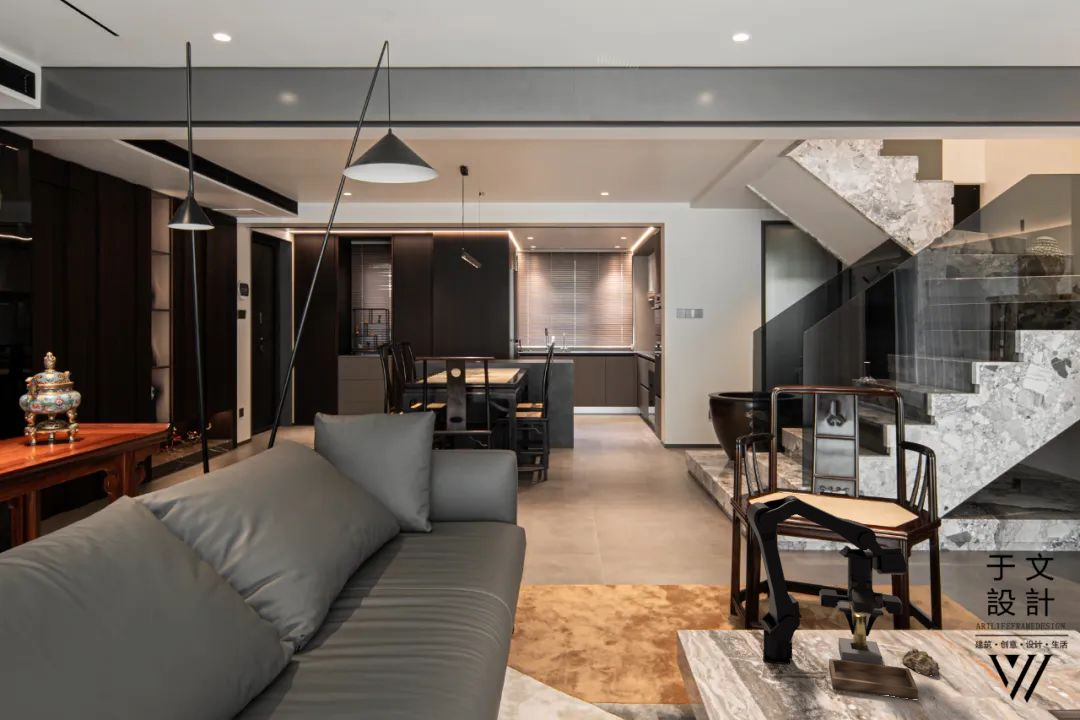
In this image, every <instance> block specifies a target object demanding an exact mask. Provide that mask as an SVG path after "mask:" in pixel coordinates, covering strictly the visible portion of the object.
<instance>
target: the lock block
mask: <svg viewBox="0 0 1080 720" xmlns="http://www.w3.org/2000/svg"><path fill="white" fill-rule="evenodd" d="M838 652H839V657H840V660H845V661H853V662H861V663H869V664H877V665H883V657H882V653H881V651H880V648H879V645H878V643H877V641H872V640H866V651H863V650H855V649H853V638H846V637H838Z"/></svg>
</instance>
